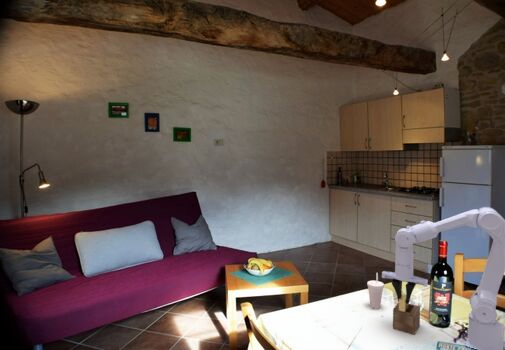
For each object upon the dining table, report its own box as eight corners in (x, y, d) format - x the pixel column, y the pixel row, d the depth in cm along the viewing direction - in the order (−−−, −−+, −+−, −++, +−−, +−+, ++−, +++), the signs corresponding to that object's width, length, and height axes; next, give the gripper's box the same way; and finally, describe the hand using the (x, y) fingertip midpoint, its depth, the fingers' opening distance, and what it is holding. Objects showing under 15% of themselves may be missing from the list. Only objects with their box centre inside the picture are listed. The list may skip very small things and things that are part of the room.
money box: (419, 325, 120) (420, 306, 120) (414, 334, 114) (414, 314, 113) (399, 319, 124) (399, 301, 124) (392, 328, 118) (393, 309, 118)
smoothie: (385, 311, 131) (385, 276, 131) (368, 309, 133) (368, 275, 132) (382, 303, 138) (382, 270, 137) (365, 302, 139) (366, 269, 138)
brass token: (402, 305, 120) (402, 294, 120) (408, 306, 119) (408, 295, 118) (398, 310, 116) (398, 299, 116) (405, 311, 115) (405, 300, 114)
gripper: (429, 264, 115) (429, 302, 116) (386, 257, 124) (385, 293, 125) (425, 270, 109) (425, 310, 110) (380, 262, 118) (379, 299, 119)
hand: (403, 301), depth 117 cm, fingers closed on brass token, 2 cm apart
